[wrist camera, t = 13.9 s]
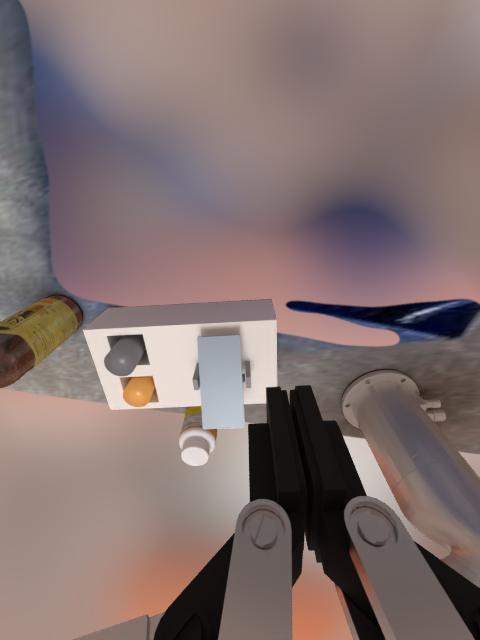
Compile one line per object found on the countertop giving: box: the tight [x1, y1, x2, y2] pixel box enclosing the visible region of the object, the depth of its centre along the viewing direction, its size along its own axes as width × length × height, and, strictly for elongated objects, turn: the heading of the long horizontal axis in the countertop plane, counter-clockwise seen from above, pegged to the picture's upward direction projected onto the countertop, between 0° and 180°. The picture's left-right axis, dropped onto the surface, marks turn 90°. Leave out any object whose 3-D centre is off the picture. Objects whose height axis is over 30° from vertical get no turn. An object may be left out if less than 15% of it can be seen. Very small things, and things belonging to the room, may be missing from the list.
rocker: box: [197, 334, 245, 429], centre depth 33 cm, size 6×11×2 cm, turn 4°
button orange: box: [123, 376, 155, 407], centre depth 40 cm, size 4×4×8 cm
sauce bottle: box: [0, 296, 82, 388], centre depth 32 cm, size 6×6×20 cm
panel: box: [83, 299, 277, 410], centre depth 38 cm, size 24×13×10 cm, turn 94°
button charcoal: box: [104, 334, 146, 376], centre depth 36 cm, size 4×4×8 cm
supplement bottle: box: [179, 406, 217, 466], centre depth 44 cm, size 6×6×10 cm
